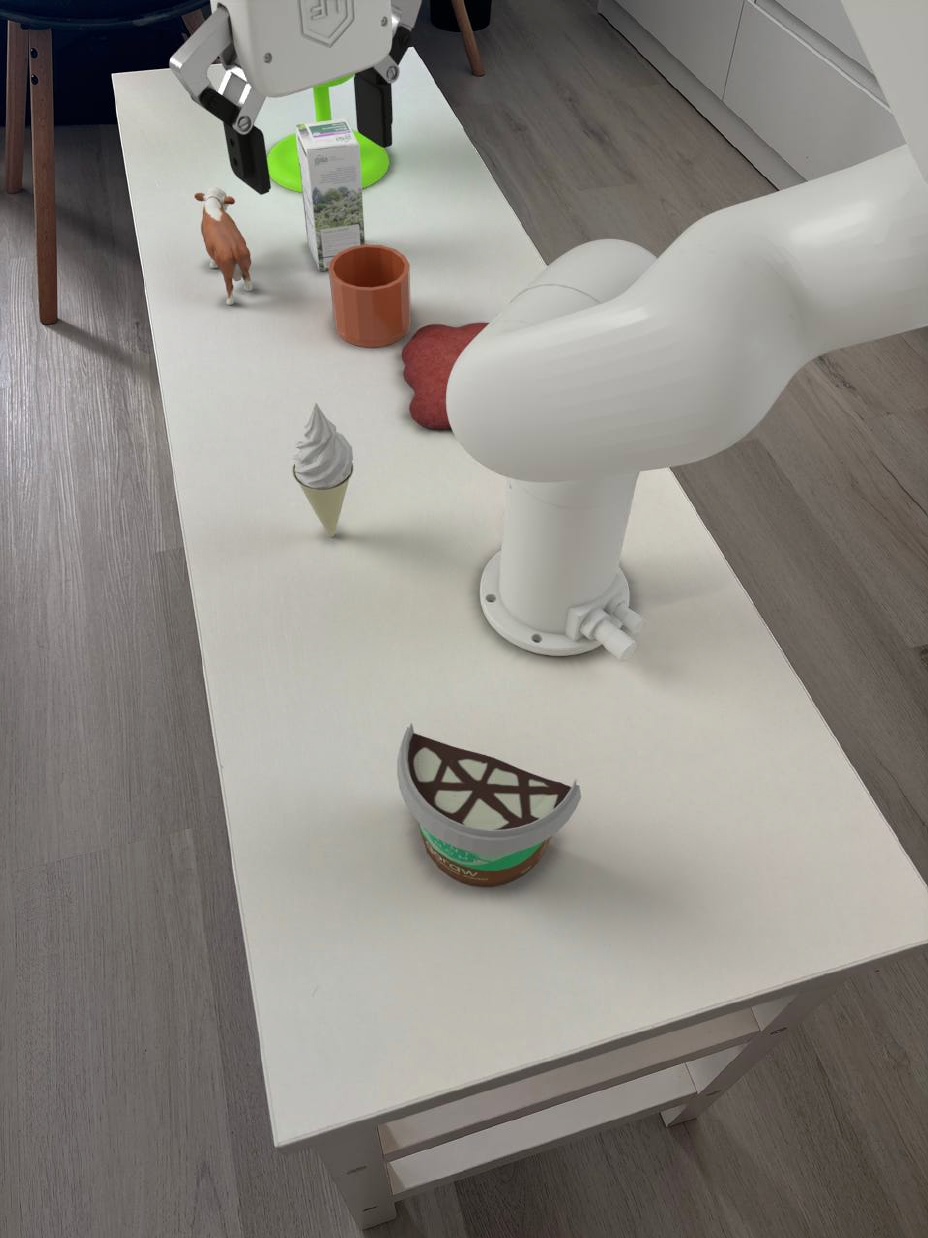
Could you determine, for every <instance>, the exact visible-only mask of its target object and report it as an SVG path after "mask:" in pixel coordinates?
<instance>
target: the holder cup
mask: <svg viewBox="0 0 928 1238" xmlns="http://www.w3.org/2000/svg"><path fill="white" fill-rule="evenodd" d="M410 265H411V264H410V263H409V260H408V259H407V257H406V255H404V254H403V253H401V252H400V251H399V250H397V249H395V248H393V247H389V246H386V245H383V244H369V243H367V244H366V243H365V245H359V246H354V247H350V248H348V249H345V250H343V251H341V252H339V253H338V254H337V255H336V256H335V257H334V258H333V259H332V260H331V261H330V265H329V270H328V277H329V278H328V279H329V288H330V289H329V290H330V297H331V308H332V309H331V310H332V318H333V322H334V329H335V331H336V334H337V335H338V336H339V337H340V338H341V339H342V340H343V341H345V342H347V343H349V344H351V345H354V346H356V347H361V348H382V347H387V346H390V345H393V344H395V343H397V342H399V341H401V340H403V338H405V337H406V336H407V334H408V333H409V331H410V329H411V321H412V320H411V317H412V304H411V302H412V300H411V267H410Z"/></svg>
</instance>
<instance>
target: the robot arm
mask: <svg viewBox="0 0 928 1238" xmlns="http://www.w3.org/2000/svg"><path fill="white" fill-rule="evenodd" d="M209 1H210V8H211V9H210V10H211V15H209V17H208V18H207V19H206V20H205V21H204V22H203V23H202V24H201V25H200V26H199V27H198V28H197V29H196V30H195V31H194V33H193V34H191V35H190V36H189V38H188V39H187V40H186V41H185V42H184V43H182V45H181V46H180V47H179V48H178V49H177V51H176V52H174V53H173V55H172V56H171V57H170V59H169V63H168V65H169V69H170V70H171V72H172V73H173V75H174V77H176V78H177V80H178V81H179V83H180V85H181V86H182V87H183V88H184V90H185V91H187V93H188V94H189V95H190V96H189V97H190V98H191V100H192V101H193V102H194V103H195V104H197V105H198V106H200V107H201V108H202V109H204V110H205V111H207V112H208V113H210V114H211V115H213V116H214V117H215V118H217V119H218V120H220V121H221V122H222V124H223V130H224V131H223V132H224V137H225V141H226V148H227V153H228V160H229V164H230V168H231V171H232V173H233V174H234V176H235V177H236V178H238V179H239V180H240V181H241V182H243V183H244V184H245V185H247V186H248V187H250V188H251V189H252V190H253V191H254V192H256V193H257V194H259V195H261V196H263V195H266V194H267V193H269V192H270V190H271V188H272V184H271V177H270V175H269V170H268V163H267V157H268V155H267V150H266V143H265V136H264V132H263V131H262V130H261V129H260V128H259V127H258V126H256V125H255V123H256V120H257V119H258V116H259V114H260V111H261V109H262V107H263V105H264V103H265V100H266V99H267V98H273V99H275V98H277V99H278V98H283V97H286V96H287V97H288V96H291V95H294V94H298V93H301V92H304V91H307V90H309V89H313V87H316V86H319V85H322V84H325V83H328V82H331V81H334V80H337V79H340V78H343V77H346V76H348V75H351V74H354V73H355V76H353V88H354V89H353V90H354V103H355V117H356V119H355V120H356V131H358V132H359V133H360V134H362V135H363V136H365V137H366V138H368V139H369V140H371V141H372V142H374V143H375V144H377V145H378V146H380V147H383V148H384V149H386V148H389V147H392V145H393V129H392V128H393V123H394V117H393V116H394V115H393V113H394V112H393V89H392V88H393V87H392V84H394V83H396V82H397V80H398V79H399V77H400V73H401V71H400V67H399V65H400V63H401V62H402V60H403V58H404V56H405V55H406V53H407V52H408V49H409V48H410V46H411V44H412V41H413V33H412V29H414V28H415V25H416V21H417V19H418V14H419V12H420V9H421V6H422V3H423V2H422V1H423V0H209ZM839 1H840V4H841V6H842V9H843V10H844V13H845V14H846V17H847V19H848V22H849V24H850V26H851V28H852V30H853V32H854V34H855V37H856V39H857V41H858V43H859V45H860V47H861V49H862V52H863V54H864V55H865V58H866V61H867V63H868V64H869V66H870V69H871V71H872V73H873V75H874V77H875V79H876V81H877V83H878V85H879V88H880V90H881V92H882V94H883V96H884V98H885V101H886V102H887V104H888V107H889V109H890V111H891V113H892V115H893V117H894V120H895V121H896V123H897V126H898V128H899V130H900V132H901V134H902V137H903V139H904V141H905V144H903V145H900V146H898V147H896V148H893V149H891V150H888V151H886V152H884V153H881V154H879V155H877V156H873V157H872V158H869V159H867V160H865V161H862V162H859V163H857V164H855V165H853V166H849V167H846V168H844V169H841V170H838V171H834V172H831V173H829V174H826V175H822V176H820V177H819V176H818V177H817V178H813V179H811V180H808V181H805V182H802V183H798V184H796V185H793V186H790V187H787V188H784V189H780V190H778V191H775V192H772V193H769V194H766V195H763V196H760V197H756V198H752V199H750V200H747V201H743V202H740V203H737V204H734V205H730V206H727V207H725V208H722V209H719V210H716V211H714V212H711V213H709V214H707V215H705V216H703V217H701V218H700V219H698V220H696V221H695V222H693V223H692V224H691V225H690V226H688V227H687V229H685V230H684V231H683V232H681V234H680V235H679V236H678V237H677V238H675V240H674V241H673V242H671V244H670V245H669V246H668V247H667V248H666V250H664V251H663V252H662V253H661V254H660V255H659V256H658V258H657V256H655V255H654V254H653V253H652V252H650V251H649V250H647V249H646V248H644V247H643V246H641V245H639V244H637V243H635V242H631V241H627V240H624V239H616V238H600V239H595V240H590V241H588V242H585V243H582V244H579V245H577V246H575V247H573V248H571V249H569V250H568V251H566V252H565V253H563V254H562V255H560V256H559V257H557V258H556V259H555V260H553V261H552V262H551V263H549V264H548V266H546V267H545V268H544V269H542V270H541V272H540V273H538V275H537V276H535V277H534V279H533V280H531V281H530V282H529V283H528V284H527V285H526V286H525V287H524V288H523V289H522V290H521V291H520V292H519V293H518V294H516V296H515V297H514V298H513V299H512V300H511V301H510V303H509V304H508V305H507V306H506V307H505V308H504V309H503V310H501V312H499V313H498V314H497V315H496V316H495V318H493V319H492V320H491V321H490V322H488V323H489V324H488V325H487V326H486V327H485V328H484V329H483V330H482V331H481V332H480V333H479V334H478V335H477V336H476V337H475V338H474V339H473V340H472V341H471V342H470V343H469V345H468V346H467V347H466V348H465V349H464V350H463V352H462V353H461V354H460V356H459V357H458V359H457V361H456V362H455V364H454V366H453V369H452V371H451V374H450V377H449V380H448V384H447V391H446V409H447V415H448V419H449V423H450V426H451V428H450V429H451V430H452V433H453V435H454V436H455V438H456V440H457V442H458V443H459V445H460V447H462V449H463V450H464V451H465V452H466V453H467V454H468V456H470V457H471V458H472V459H473V460H475V461H476V462H477V463H479V464H480V465H481V466H483V467H485V468H486V469H488V470H490V471H492V472H494V473H495V474H498V475H501V476H503V477H506V481H505V482H506V483H505V497H504V508H503V522H502V523H503V524H502V537H501V548H500V550H497V552H496V553H495V554H494V555H493V556H492V557H491V558H490V559H489V561H488V562H487V564H486V565H485V567H484V569H483V571H482V575H481V578H480V584H479V599H480V600H479V601H480V606H481V608H482V612H483V614H484V617H485V618H486V619H487V622H488V623H489V625H490V626H491V627H492V628H493V629H494V630H495V632H497V633H498V635H500V636H501V638H502V637H503V638H504V639H505V640H506V641H508V642H509V643H511V644H513V645H515V646H516V647H518V648H521V649H522V650H525V651H528V652H532V653H535V654H537V655H538V654H539V655H546V656H552V657H564V656H566V657H567V656H574V655H579V654H583V653H586V652H589V651H592V650H595V649H597V648H599V647H600V646H603V647H604V648H605V649H606V651H608V652H609V653H610V654H612V655H613V656H614V657H615V658H616V659H617V660H619V661H620V662H621V663H623V662H626V661H627V660H629V658H630V657H631V656H633V654H634V653H635V651H636V650H637V649H638V642H637V641H635V640H634V639H633V637H630V636H629V635H628V634H627V633H626V632H625V631H624V630H622V629H621V627H622V626H624V627H626V628H627V629H628V630H629V631H631V632H632V633H633V634H636V633H639V631H641V630H642V628H643V627H644V626H645V623H646V619H645V618H644V617H642V616H641V615H640V614H638V613H637V612H636V611H635V610H632V609H631V608H629V606H630V596H631V594H630V593H631V592H630V588H629V583H628V580H627V578H626V575H625V573H624V571H623V570H622V568H621V567H620V561H621V557H622V551H623V548H624V542H625V537H626V533H627V528H628V524H629V519H630V515H631V511H632V505H633V502H634V496H635V491H636V486H637V482H638V479H639V477H640V472H646V471H654V470H655V471H656V470H660V469H661V470H662V469H668V468H674V467H679V466H684V465H688V464H693V463H696V462H699V461H702V460H705V459H707V458H708V459H709V458H710V457H712V456H715V455H716V454H719V453H721V452H723V451H725V450H727V449H729V448H730V447H733V446H734V445H735V444H736V443H738V442H739V441H741V440H742V439H743V438H744V437H746V436H747V435H748V434H750V433H751V432H752V431H753V430H754V429H755V428H756V427H757V425H759V424H760V422H761V421H762V420H763V419H764V418H765V417H766V416H767V414H768V413H769V411H770V410H771V409H772V407H773V406H774V405H775V403H776V402H777V400H779V397H780V396H781V394H783V391H784V390H785V388H786V387H787V385H788V384H789V382H790V381H791V380H792V378H793V377H794V376H795V374H797V373H798V372H799V371H800V370H801V369H802V368H803V367H804V366H806V365H807V364H808V363H809V362H810V361H812V360H814V359H815V358H817V357H819V356H823V355H824V354H827V353H830V352H833V351H836V350H841V349H844V348H847V347H851V346H856V345H860V344H864V343H867V342H873V341H875V340H880V339H884V338H887V337H890V336H894V335H898V334H902V333H905V332H908V331H914V330H916V329H921V328H925V327H928V0H839ZM218 58H219V60H220V63H221V66H222V68H223V69H224V70H225V74H224V76H223V79H222V81H221V83H220V86H219V88H218V90H216V89H215V87H214V85H212V82H211V81H210V79H209V77H208V69H209V67H210V66H211V65H212V64H213V63H214V62H215V61H216V60H217V59H218Z"/></svg>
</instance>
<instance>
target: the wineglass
mask: <svg viewBox="0 0 928 1238" xmlns="http://www.w3.org/2000/svg"><path fill="white" fill-rule="evenodd" d="M354 76H355V73H354V74H351V75H348V76H346V77H343V78H340V79H337V80H334V81H331V82H328V83H325V84H322V85H319V86H316V87H313V88H312V91H313V102H314V111H315V122H321V121H329V120H332V111H331V110H332V109H331V100H330V98H331V97H330V88H333V87H336V86H339V85H342V84H344V83H346V82H348V81H349V80H351V79H352V78H354ZM352 131H353V133H354V136H355V138H356V140H357V141H358V143H359V146H360V162H361V181H362V189H365V188H367V187H371V186H372V185H373V184H375V183H376V182H378V181H379V180H381V179H382V178H383V177H384V176H385V175H386V174H387V172H388V169H389V166H390V158H389V154H388V152H387V151H386V148H383V147H380V146H378V145H377V144H375V143H374V142H372V141H371V140H369V139H368V138H366V137H365V136H363V135H362V134H360V133H359V132H358V130H352ZM267 163H268V170H269V177H270V179H271V180H273V181H274V182H275V183H277V184H278V185H279V186H281V187H284V188H286V189H289V190H290V191H293V192H297V193H301V194H302V186H301V176H300V167H299V159H298V150H297V141H296V133H292V134H290V135H288V136H286V137H284V138H283V139H281V140H279V141H278V142H277V143H276V144H275V145H274V146H273V147H272V148H271V149H270V151H269V154H268V155H267Z"/></svg>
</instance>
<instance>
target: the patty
mask: <svg viewBox="0 0 928 1238" xmlns="http://www.w3.org/2000/svg"><path fill="white" fill-rule="evenodd" d="M489 323H490V322H473V323H468V324H464V325H461V326H451V325H446V324H440V323H431V324H427V325H426V324H425V325H424V326H422V327H420V328H418V330H416V331H415V333H414V334H413V336H412V338H411V340H409V341H408V342H407V343H406V344H405V346H404V347H403V348H402V350H401V359H402V362H403V363H404V368H403V378H404V381H405V382H406V384H407V385H408V386H409V387H410V388H411V389H412V390H413V392H414V396H413V397H412V399H411V400H410V403H409V406H408V411H409V415H410V417H411V419H412V420H413V421H414V422H415V423H416V424H418V425H420V426H422V427H424V428H427V429H430V430H431V429H433V430H443V429H444V430H446V429H452V428H451V426H450V423H449V419H448V415H447V409H446V391H447V384H448V380H449V377H450V374H451V371H452V369H453V366H454V364H455V362H456V361H457V359H458V357H459V356H460V354H461V353H462V352H463V350H464V349H465V348H466V347H467V346H468V345H469V343H470V342H471V341H472V340H473V339H474V338H475V337H476V336H477V335H478V334H479V333H480V332H481V331H482V330H483V329H484V328H485V327H486V326H487V325H488V324H489Z"/></svg>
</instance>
